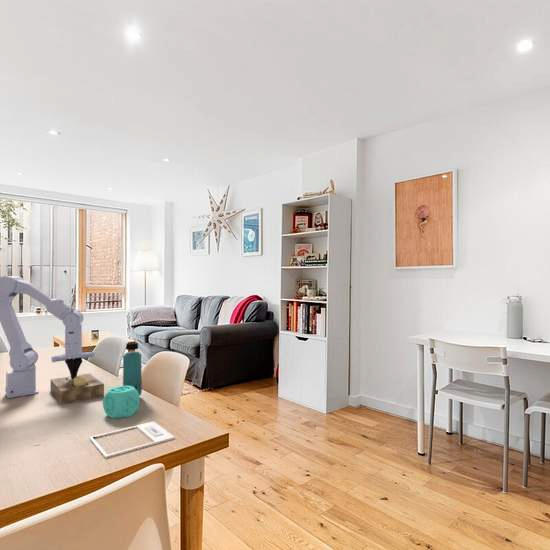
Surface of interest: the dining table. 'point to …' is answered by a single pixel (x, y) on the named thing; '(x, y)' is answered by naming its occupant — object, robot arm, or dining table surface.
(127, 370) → the beverage bottle
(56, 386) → the peg block
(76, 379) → the mustard peg
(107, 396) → the decorative dice
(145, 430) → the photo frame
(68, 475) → the dining table surface
